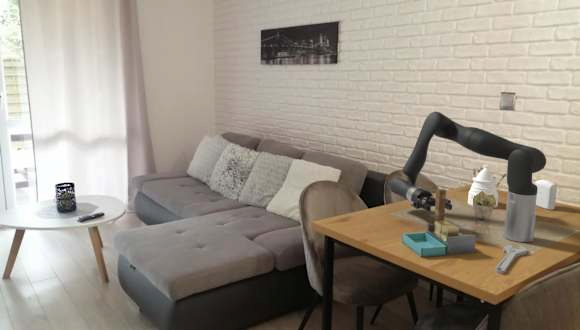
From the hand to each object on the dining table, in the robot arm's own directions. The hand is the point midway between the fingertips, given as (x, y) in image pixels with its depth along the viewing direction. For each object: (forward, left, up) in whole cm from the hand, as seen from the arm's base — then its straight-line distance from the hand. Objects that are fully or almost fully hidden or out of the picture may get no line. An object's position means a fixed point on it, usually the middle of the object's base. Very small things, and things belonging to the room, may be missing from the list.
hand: (440, 208), depth 164 cm
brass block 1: (-1, +11, -6) cm, 12 cm away
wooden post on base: (0, 0, -10) cm, 10 cm away
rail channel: (-3, +12, -10) cm, 16 cm away
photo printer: (-45, -54, -10) cm, 71 cm away
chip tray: (+5, +17, -10) cm, 20 cm away
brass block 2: (-3, +15, -6) cm, 16 cm away
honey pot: (-19, -50, -10) cm, 55 cm away
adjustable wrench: (-21, +18, -11) cm, 30 cm away
